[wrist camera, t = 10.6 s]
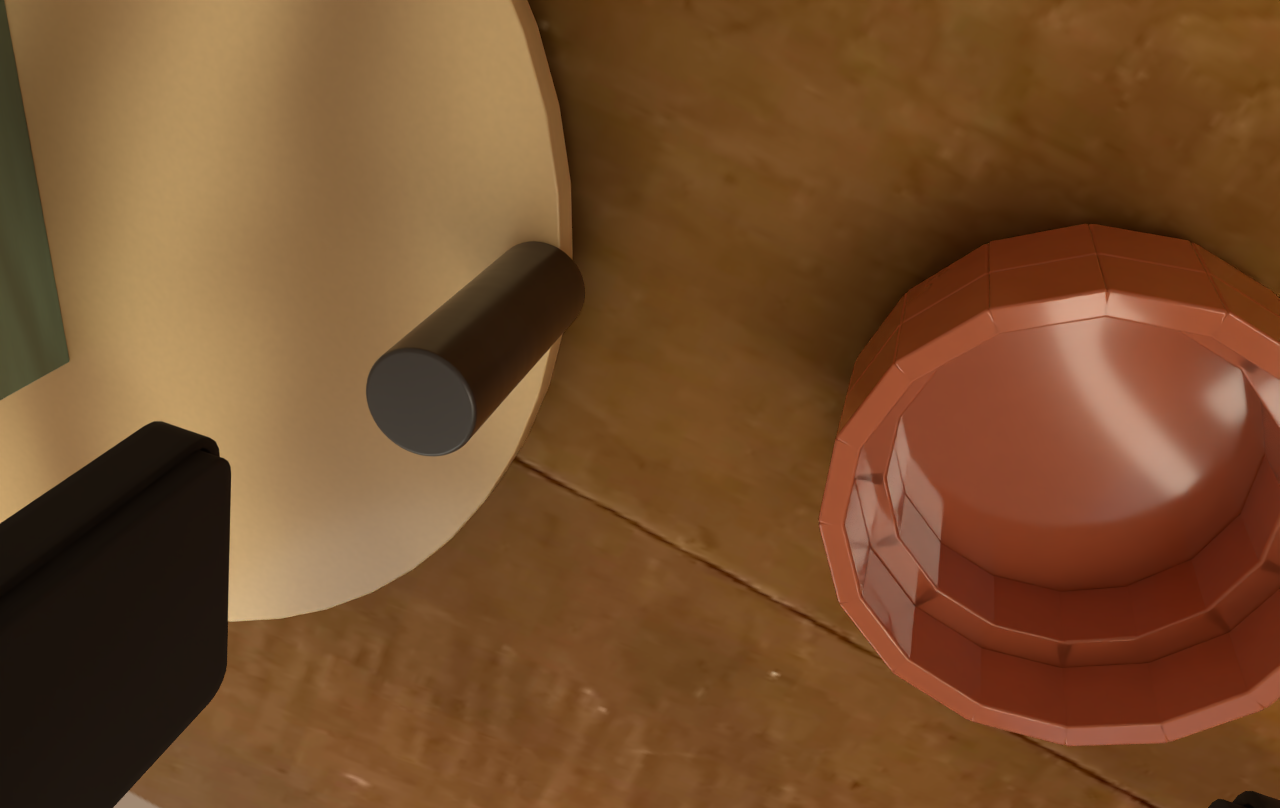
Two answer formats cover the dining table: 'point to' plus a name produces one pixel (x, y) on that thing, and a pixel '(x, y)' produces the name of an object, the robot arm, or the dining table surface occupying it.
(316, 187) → the dish rack
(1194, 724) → the bowl
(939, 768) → the dining table surface
